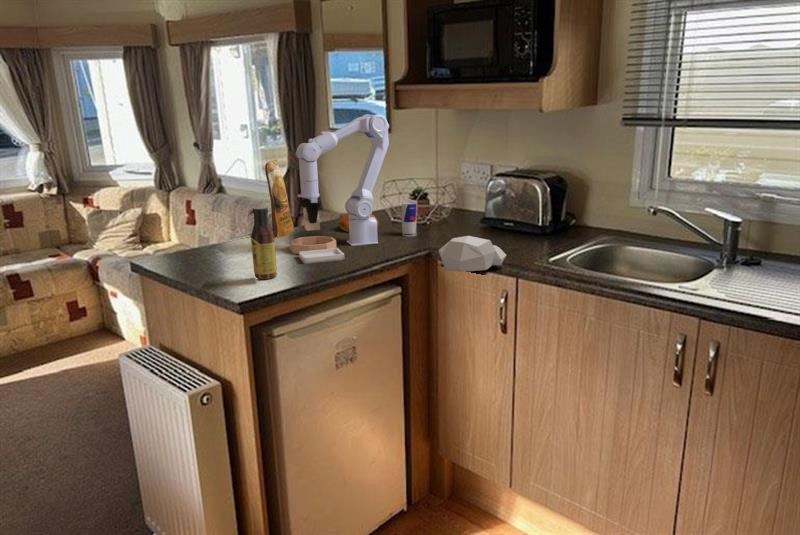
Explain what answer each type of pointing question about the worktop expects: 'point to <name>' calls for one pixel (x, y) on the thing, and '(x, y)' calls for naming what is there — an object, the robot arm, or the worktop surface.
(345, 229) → the croissant
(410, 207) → the energy drink
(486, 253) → the rock
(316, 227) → the beech peg
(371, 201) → the robot arm
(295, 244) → the pinkish-brown octagonal ring
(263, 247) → the sauce bottle
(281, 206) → the pancake mix bag
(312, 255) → the tray
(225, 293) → the worktop surface
